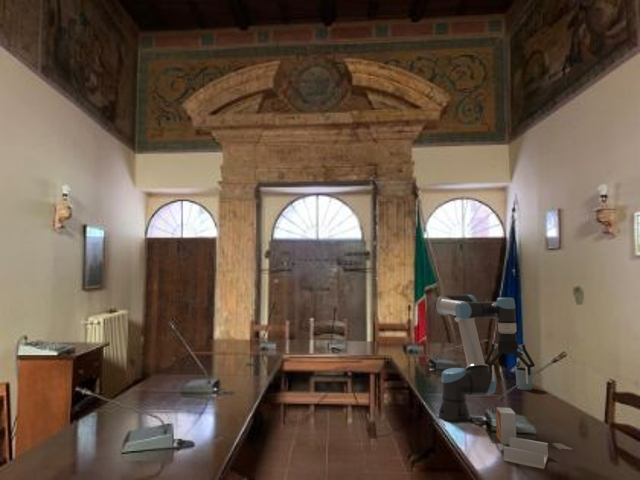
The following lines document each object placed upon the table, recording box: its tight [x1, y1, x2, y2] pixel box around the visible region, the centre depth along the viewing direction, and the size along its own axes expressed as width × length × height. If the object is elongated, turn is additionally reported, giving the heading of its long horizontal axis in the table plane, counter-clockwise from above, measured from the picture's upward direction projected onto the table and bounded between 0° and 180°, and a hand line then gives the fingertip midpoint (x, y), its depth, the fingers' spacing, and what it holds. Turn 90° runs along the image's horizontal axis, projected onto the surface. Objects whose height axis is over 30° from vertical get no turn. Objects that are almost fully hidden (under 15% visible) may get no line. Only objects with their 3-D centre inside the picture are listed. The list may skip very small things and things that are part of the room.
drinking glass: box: [514, 366, 534, 391], centre depth 282 cm, size 10×10×12 cm
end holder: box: [502, 436, 549, 470], centre depth 178 cm, size 14×13×5 cm
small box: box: [495, 406, 517, 445], centre depth 196 cm, size 8×6×13 cm
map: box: [551, 442, 574, 451], centre depth 183 cm, size 5×20×1 cm, turn 23°
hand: (510, 382), depth 200 cm, fingers open, 13 cm apart
